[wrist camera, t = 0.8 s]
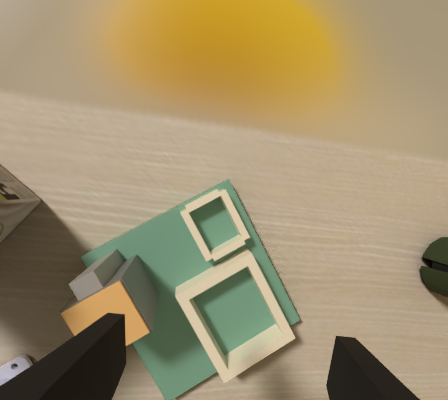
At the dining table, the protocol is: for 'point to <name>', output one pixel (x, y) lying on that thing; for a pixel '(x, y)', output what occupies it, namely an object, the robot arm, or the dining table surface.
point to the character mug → (437, 266)
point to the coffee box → (13, 202)
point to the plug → (113, 296)
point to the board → (206, 291)
